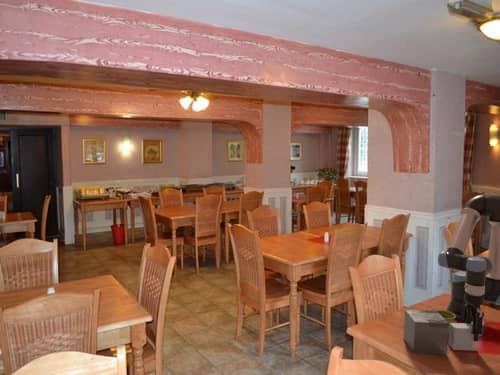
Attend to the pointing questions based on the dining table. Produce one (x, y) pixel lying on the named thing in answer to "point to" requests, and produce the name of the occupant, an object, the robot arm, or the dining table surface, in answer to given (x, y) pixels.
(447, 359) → the dining table surface
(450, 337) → the upright grey box
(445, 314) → the plant pot
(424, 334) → the box
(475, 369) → the dining table surface
